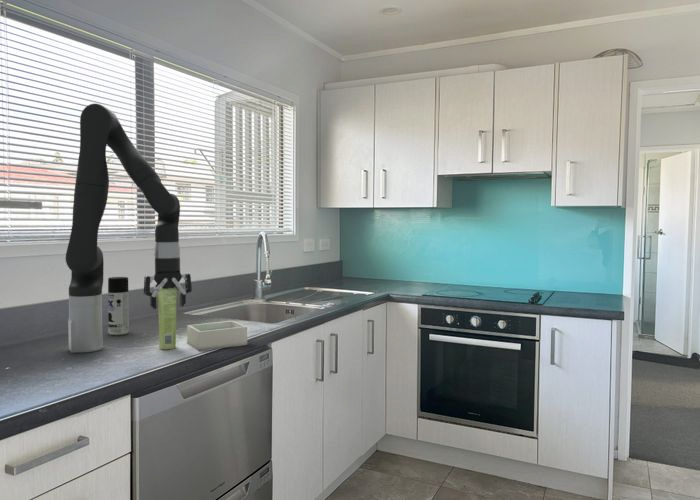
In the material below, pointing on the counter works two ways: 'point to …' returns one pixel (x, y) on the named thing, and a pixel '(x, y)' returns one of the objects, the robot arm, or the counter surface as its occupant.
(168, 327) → the tube
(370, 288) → the counter surface
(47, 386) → the counter surface
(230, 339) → the box
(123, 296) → the spray can
